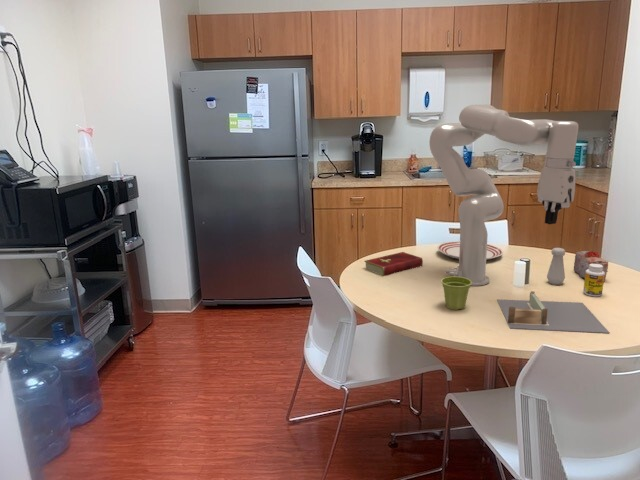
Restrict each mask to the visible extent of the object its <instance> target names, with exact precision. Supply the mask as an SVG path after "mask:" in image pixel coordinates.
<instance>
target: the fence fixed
mask: <svg viewBox="0 0 640 480" xmlns="http://www.w3.org/2000/svg"><path fill="white" fill-rule="evenodd" d="M547 311H548V309H546V308H544V309H543V315H542V324H546V321H547ZM540 320H541V310H533V309H516V308H515V307H509V315H508V322H509V323H526V324H540Z"/></svg>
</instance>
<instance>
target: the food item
mask: <svg viewBox="0 0 640 480" xmlns="http://www.w3.org/2000/svg"><path fill="white" fill-rule="evenodd" d="M589 264H600V265H602V266H603V270H602V271H604V273H605V276H604V282H606V278H607V274H608V272H609V271H608V270H609V261H607V260H605V259H604V258H601V254H599V252H597V251H593V250H591V251H589V250H588V251H586V250H582V251H577V252H575V255H574V262H573V271H574V272H576V273H577V274H578V275H579V278H583V279H585V273H586V270H587V269H589Z"/></svg>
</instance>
